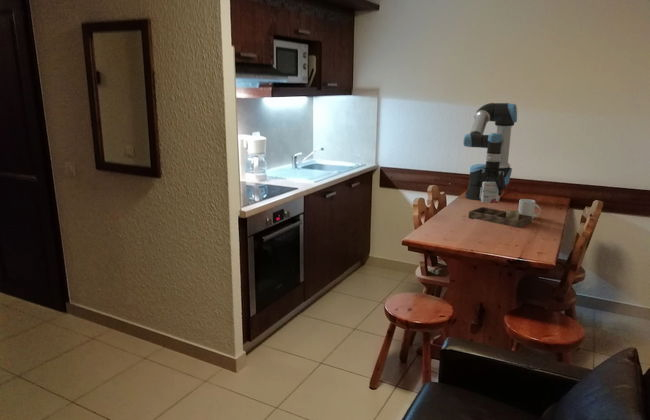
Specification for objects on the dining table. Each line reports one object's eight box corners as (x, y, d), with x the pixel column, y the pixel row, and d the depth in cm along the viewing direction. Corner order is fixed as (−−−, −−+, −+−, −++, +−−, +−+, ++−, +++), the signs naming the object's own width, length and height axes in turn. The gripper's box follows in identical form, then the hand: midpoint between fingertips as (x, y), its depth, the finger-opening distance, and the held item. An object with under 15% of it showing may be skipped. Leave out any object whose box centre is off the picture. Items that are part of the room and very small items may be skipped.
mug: (537, 222, 272) (539, 203, 269) (515, 218, 279) (517, 200, 276) (541, 219, 279) (543, 201, 276) (519, 215, 285) (521, 198, 283)
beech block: (505, 222, 268) (506, 212, 267) (507, 220, 273) (508, 209, 272) (516, 224, 265) (517, 213, 264) (518, 221, 270) (519, 211, 269)
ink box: (495, 201, 279) (497, 181, 276) (497, 203, 274) (499, 183, 271) (480, 200, 280) (482, 181, 277) (482, 202, 275) (484, 182, 272)
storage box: (468, 217, 279) (469, 211, 278) (481, 213, 290) (482, 206, 289) (519, 228, 259) (520, 221, 258) (531, 223, 270) (532, 216, 269)
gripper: (471, 159, 276) (468, 197, 281) (509, 163, 261) (504, 203, 266) (478, 158, 281) (474, 195, 287) (515, 162, 266) (510, 201, 272)
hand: (489, 199), depth 276 cm, fingers closed on ink box, 9 cm apart
